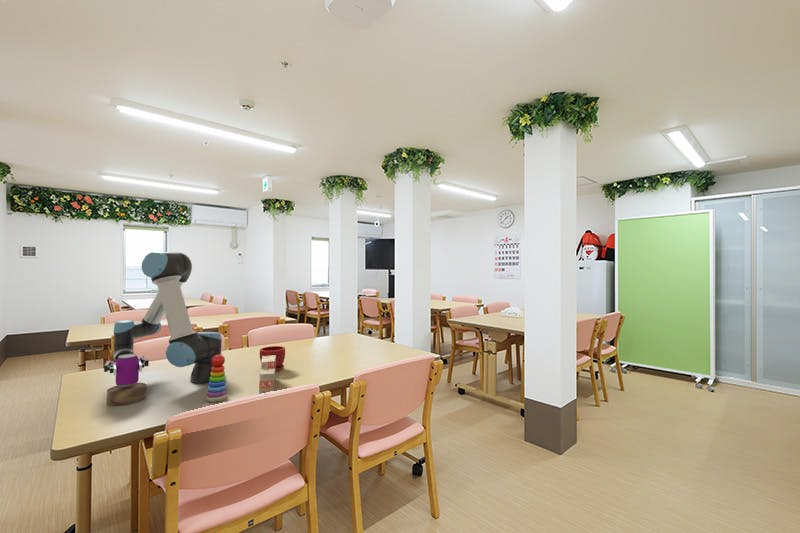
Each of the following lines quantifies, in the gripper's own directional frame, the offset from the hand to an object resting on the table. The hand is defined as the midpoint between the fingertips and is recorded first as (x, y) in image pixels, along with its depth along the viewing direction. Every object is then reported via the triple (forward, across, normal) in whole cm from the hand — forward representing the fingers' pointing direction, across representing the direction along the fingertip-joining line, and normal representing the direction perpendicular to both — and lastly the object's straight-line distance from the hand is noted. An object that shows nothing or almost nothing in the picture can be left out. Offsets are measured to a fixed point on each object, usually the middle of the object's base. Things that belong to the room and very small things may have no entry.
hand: (128, 370), depth 145 cm
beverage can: (-5, 0, -7) cm, 9 cm away
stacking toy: (+17, -29, -14) cm, 36 cm away
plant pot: (-10, -63, -14) cm, 65 cm away
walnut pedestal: (-5, 0, -14) cm, 14 cm away
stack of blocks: (+15, -52, -14) cm, 55 cm away
